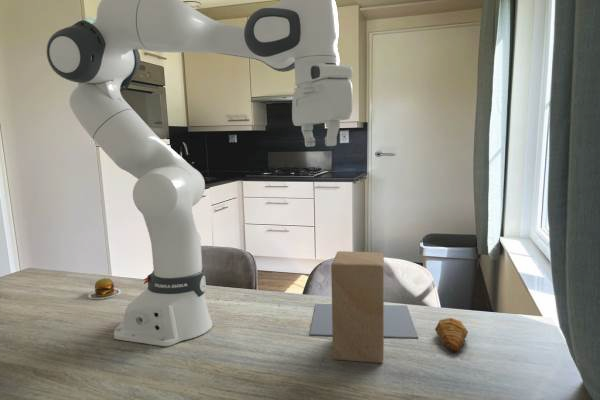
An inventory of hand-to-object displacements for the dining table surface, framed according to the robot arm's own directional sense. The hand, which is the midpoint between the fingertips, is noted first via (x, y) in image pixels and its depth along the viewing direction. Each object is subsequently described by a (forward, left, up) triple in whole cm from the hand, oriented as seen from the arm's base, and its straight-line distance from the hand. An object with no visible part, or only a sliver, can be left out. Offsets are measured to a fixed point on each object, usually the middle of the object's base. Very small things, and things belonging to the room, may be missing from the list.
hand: (320, 146), depth 84 cm
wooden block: (+7, -1, -43) cm, 44 cm away
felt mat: (+8, +14, -43) cm, 45 cm away
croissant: (+27, +5, -43) cm, 51 cm away
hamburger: (-68, +28, -44) cm, 85 cm away
